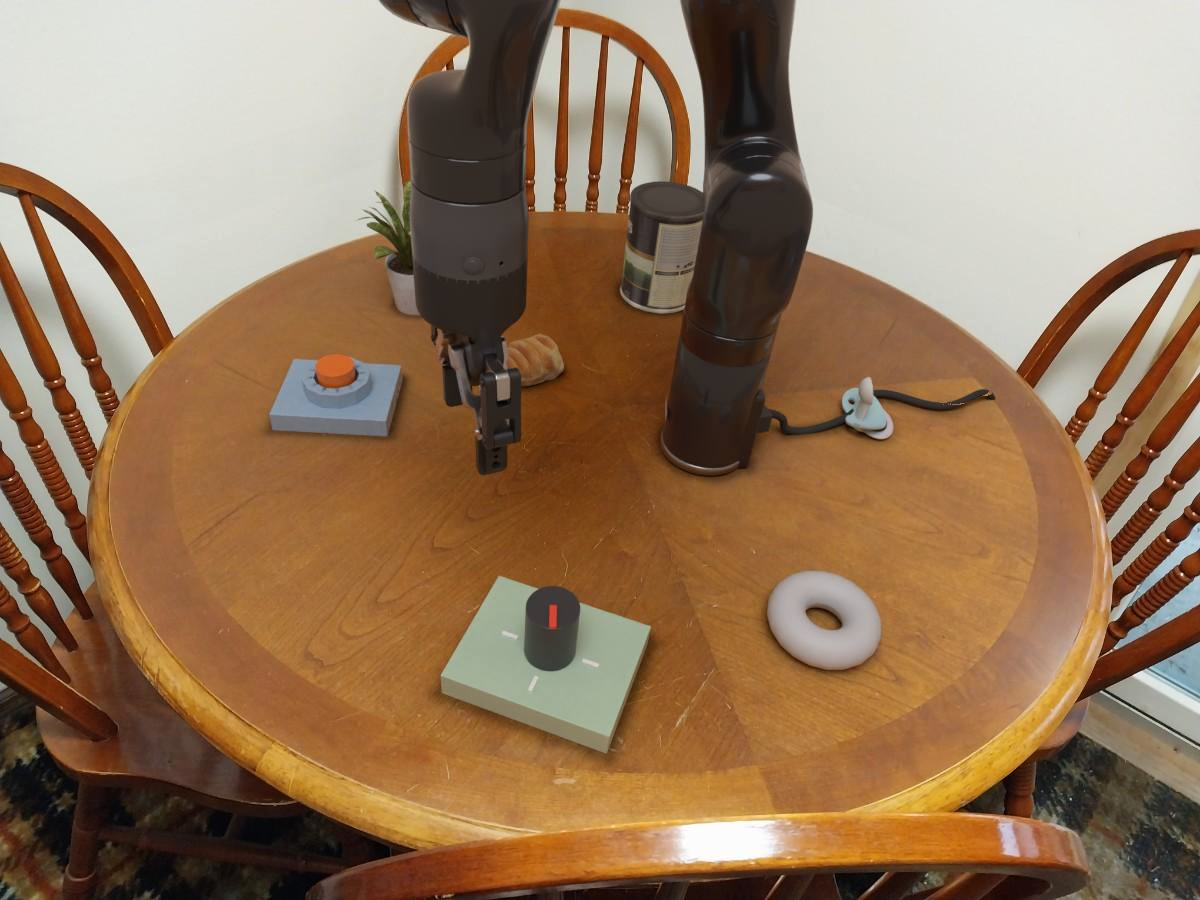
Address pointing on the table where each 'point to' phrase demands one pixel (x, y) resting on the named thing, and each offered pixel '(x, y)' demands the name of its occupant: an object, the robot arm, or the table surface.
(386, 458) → the table surface
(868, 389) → the pacifier
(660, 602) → the table surface
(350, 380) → the button
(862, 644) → the donut
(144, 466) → the table surface
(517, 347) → the pastry
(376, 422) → the button block
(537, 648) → the program dial
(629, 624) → the dial panel
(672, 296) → the coffee can
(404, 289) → the house plant
